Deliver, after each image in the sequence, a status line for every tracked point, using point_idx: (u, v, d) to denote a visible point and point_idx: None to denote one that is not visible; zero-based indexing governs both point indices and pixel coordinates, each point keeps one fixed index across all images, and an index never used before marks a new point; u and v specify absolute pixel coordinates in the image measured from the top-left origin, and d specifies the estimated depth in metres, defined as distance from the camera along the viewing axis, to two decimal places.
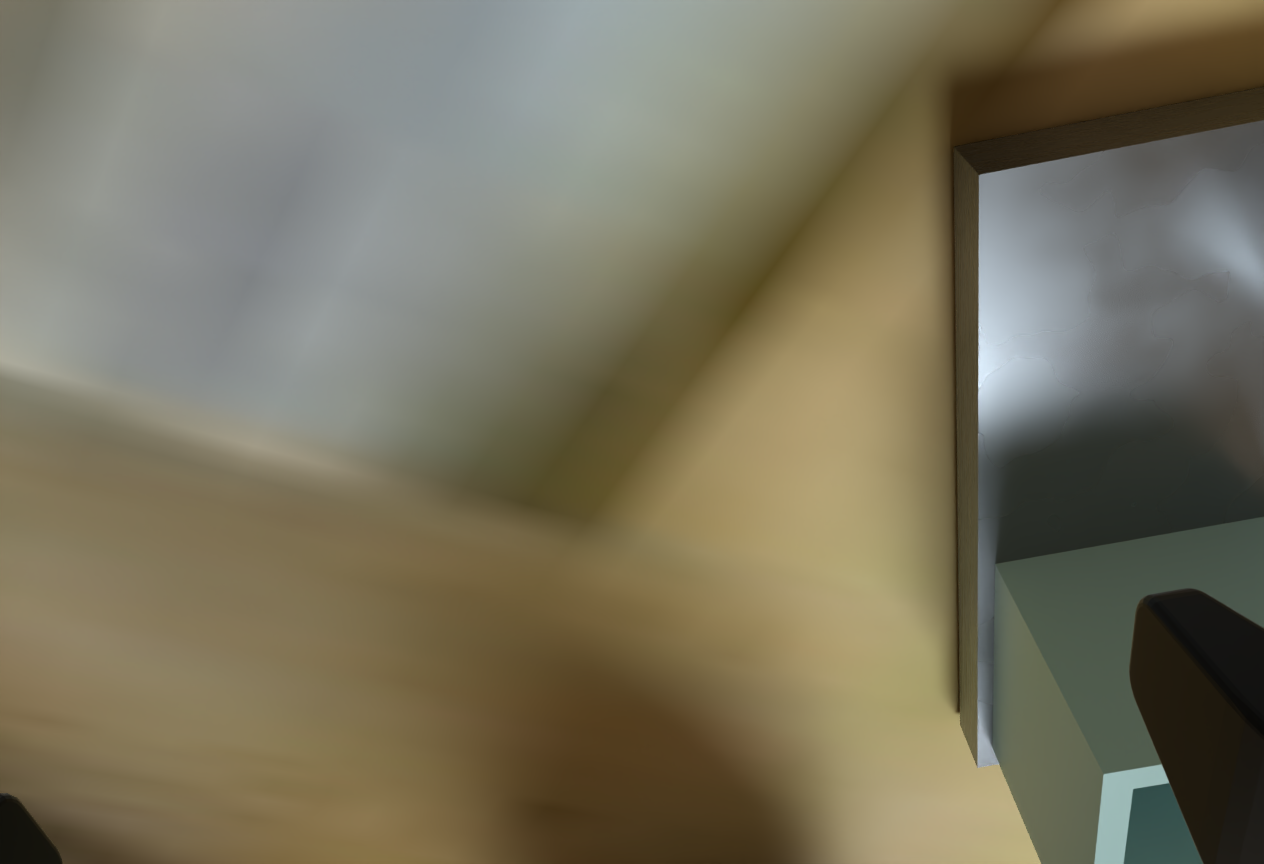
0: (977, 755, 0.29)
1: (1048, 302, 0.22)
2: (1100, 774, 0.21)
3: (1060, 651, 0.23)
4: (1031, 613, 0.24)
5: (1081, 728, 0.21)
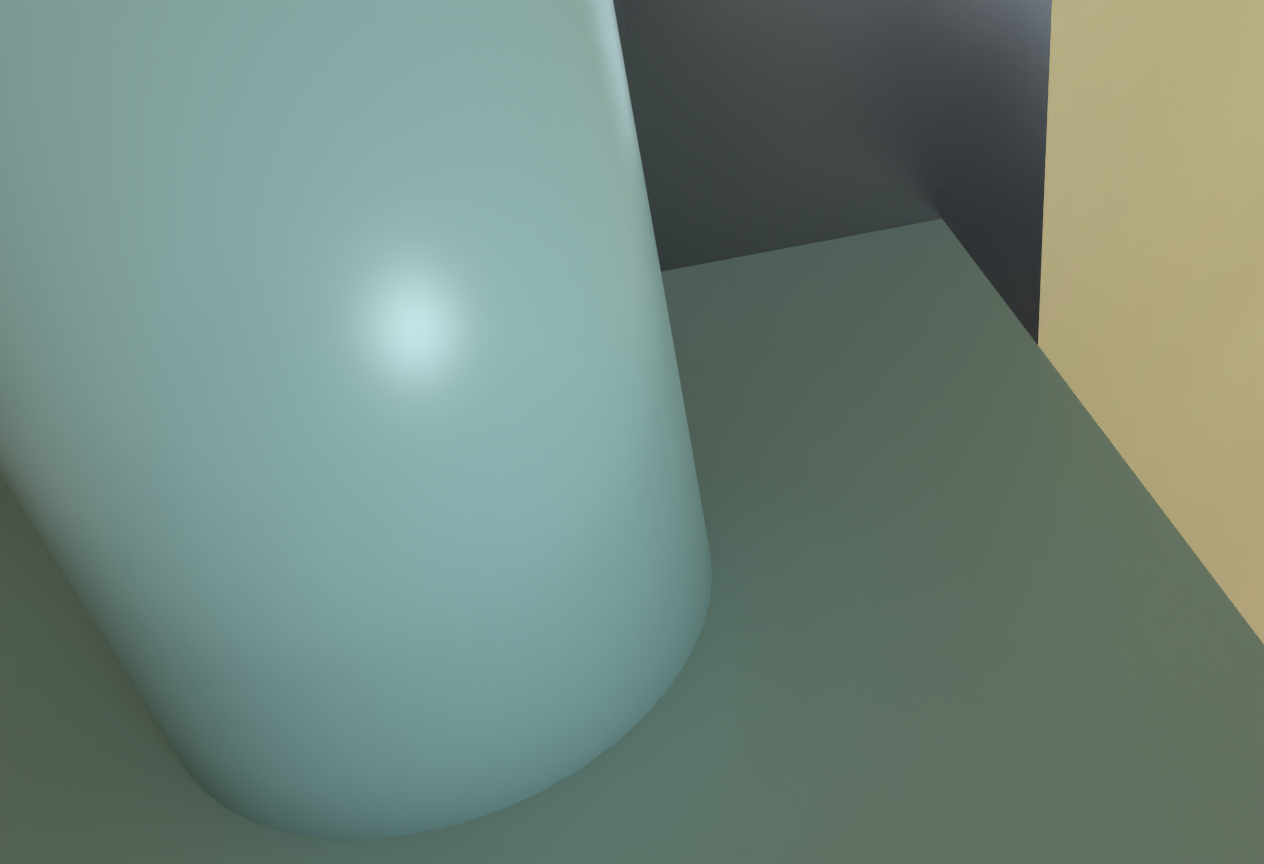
0: None
1: None
2: None
3: None
4: None
5: None
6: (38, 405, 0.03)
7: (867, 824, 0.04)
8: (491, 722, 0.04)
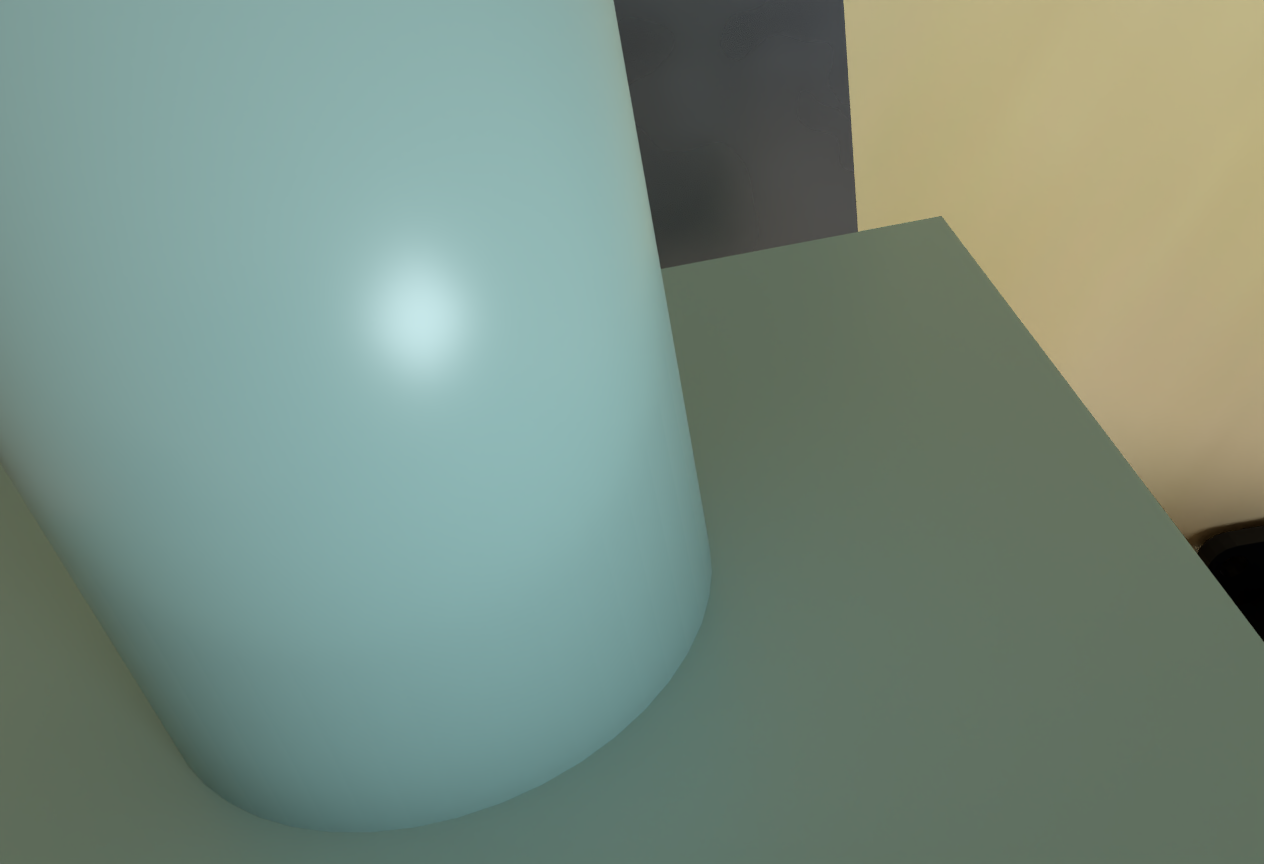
0: None
1: None
2: None
3: None
4: None
5: None
6: (41, 398, 0.03)
7: (866, 817, 0.04)
8: (491, 715, 0.04)
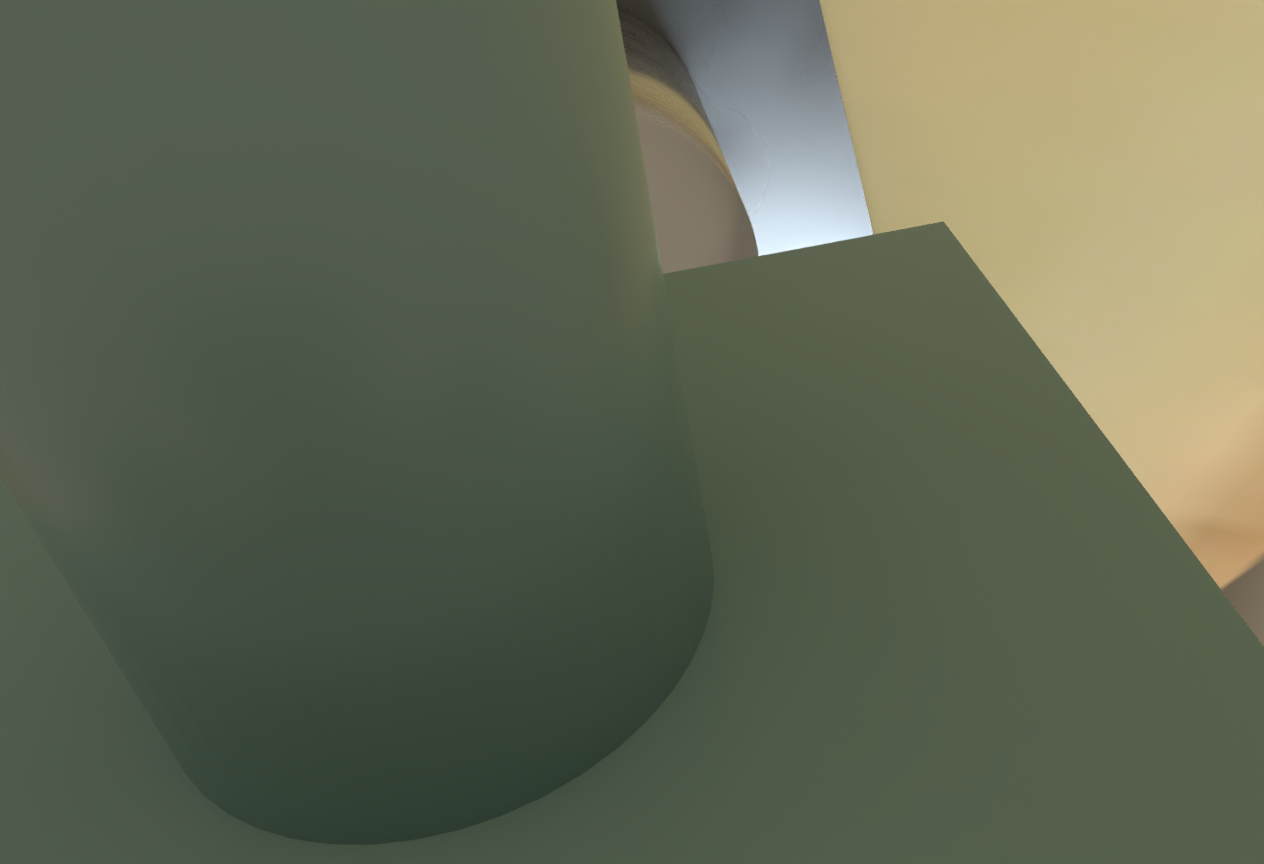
0: None
1: None
2: None
3: None
4: None
5: None
6: (39, 410, 0.03)
7: (870, 831, 0.04)
8: (493, 728, 0.04)
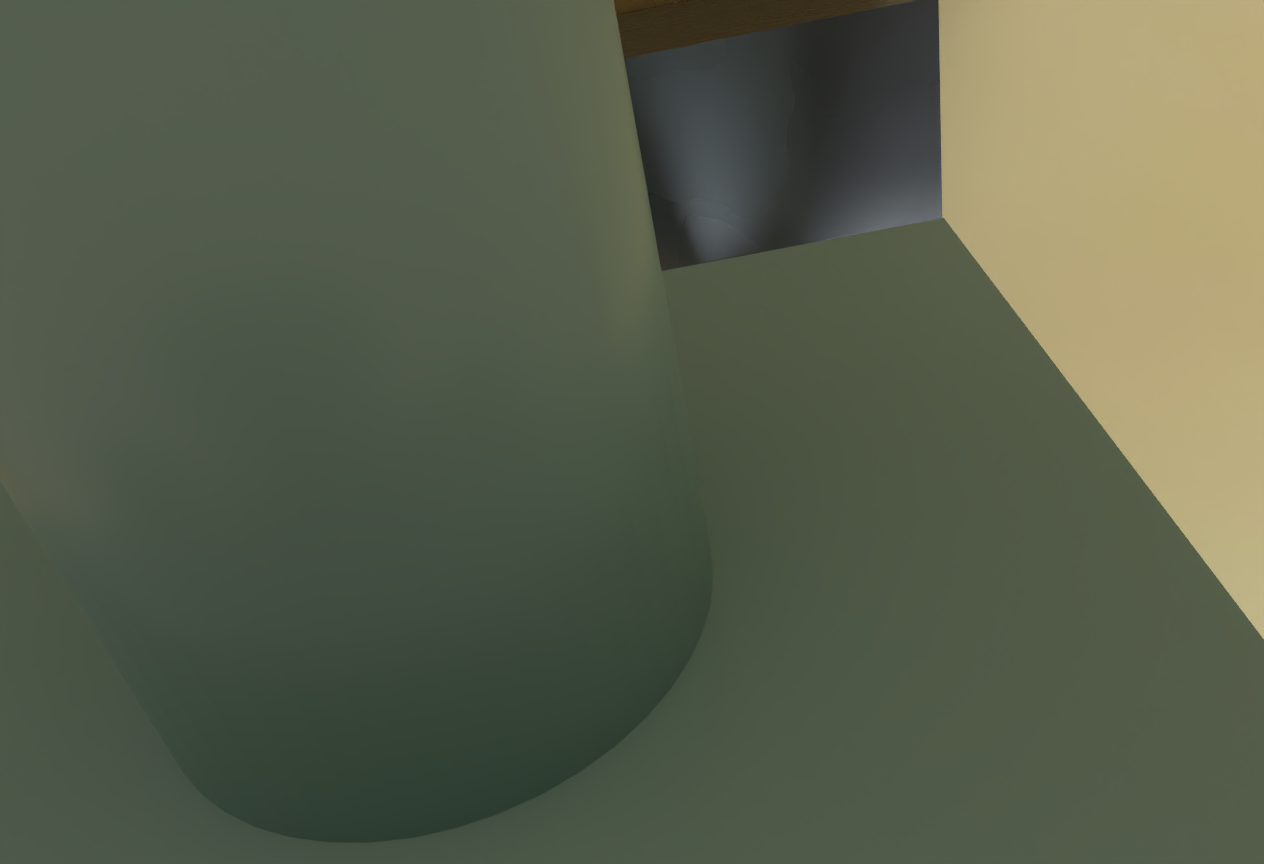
0: None
1: None
2: None
3: None
4: None
5: None
6: (33, 405, 0.03)
7: (870, 827, 0.04)
8: (491, 725, 0.04)
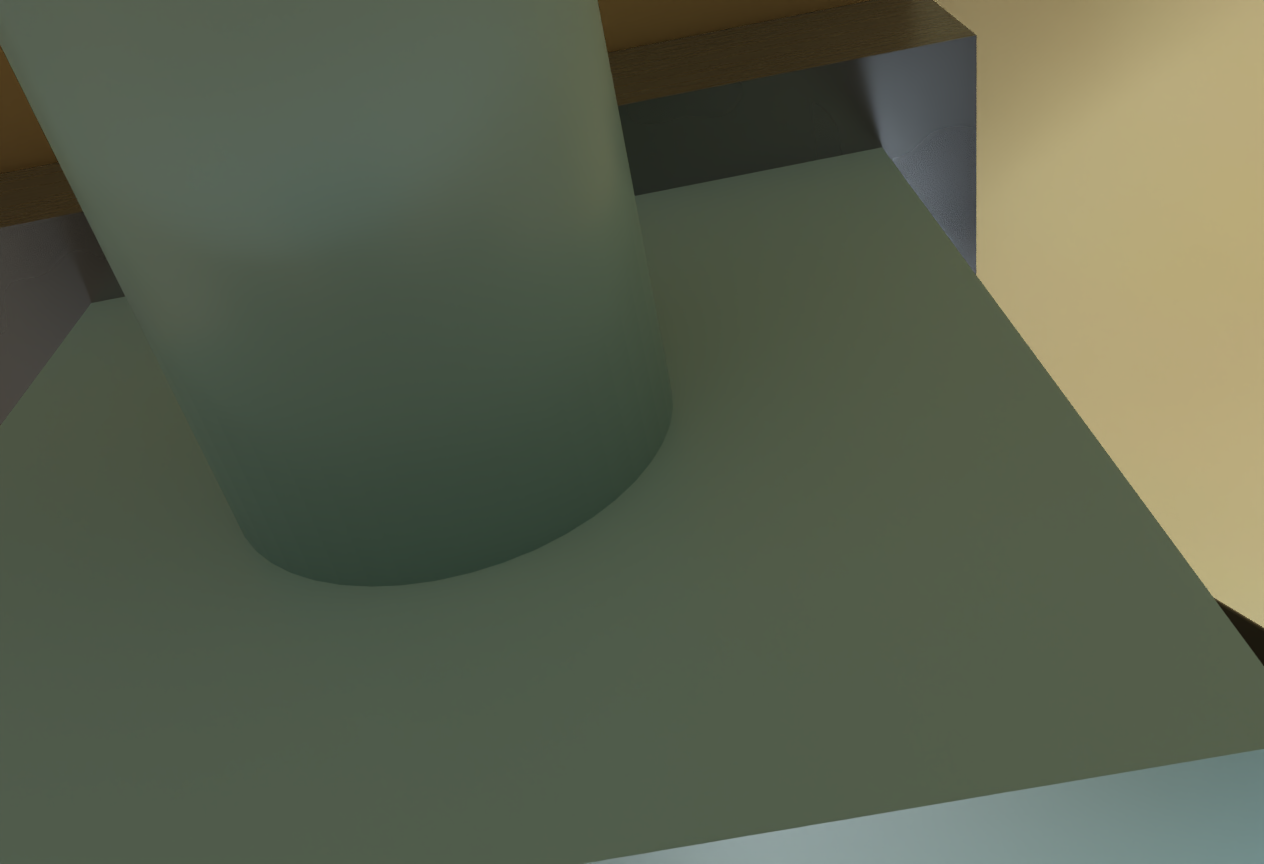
0: None
1: None
2: None
3: None
4: None
5: None
6: (170, 216, 0.04)
7: (780, 557, 0.05)
8: (496, 485, 0.05)
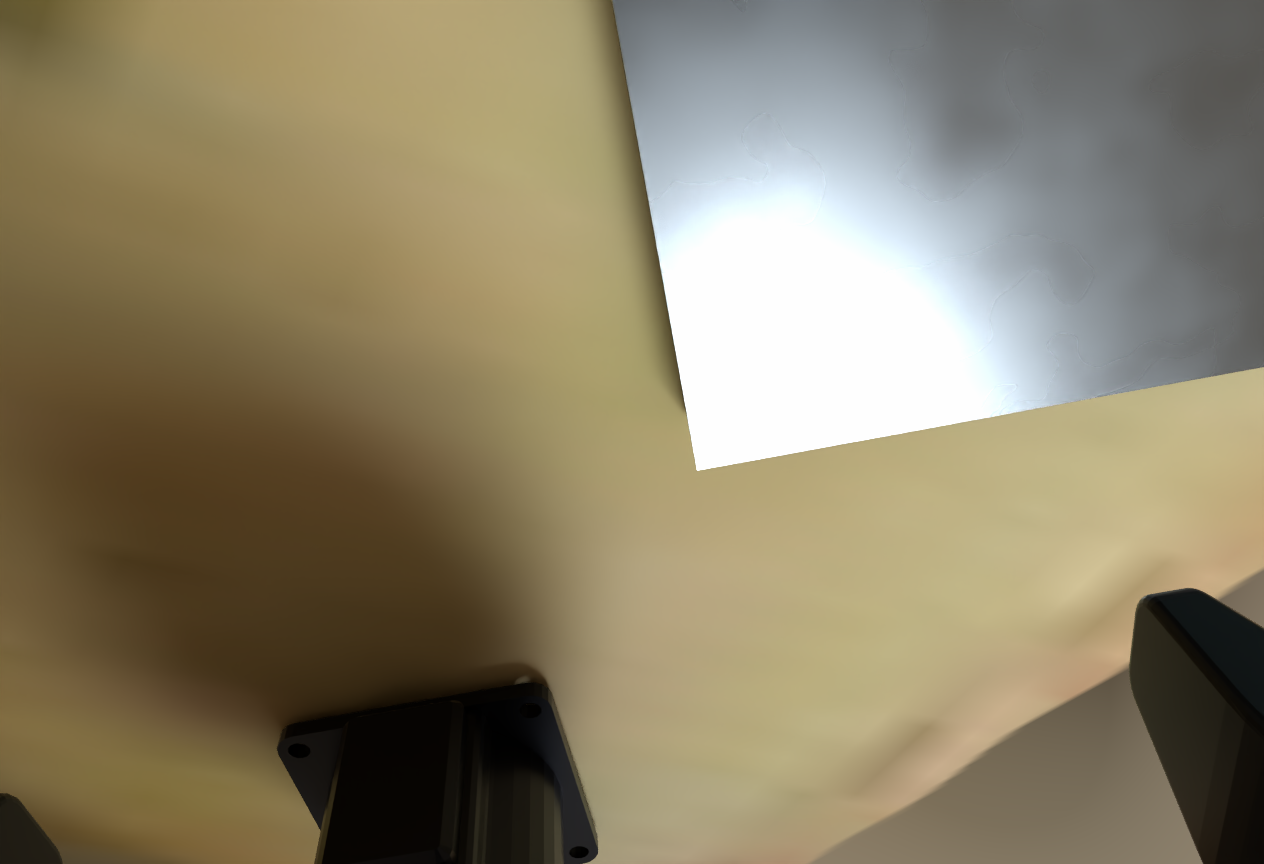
0: (694, 449, 0.20)
1: None
2: None
3: None
4: None
5: None
6: None
7: None
8: None
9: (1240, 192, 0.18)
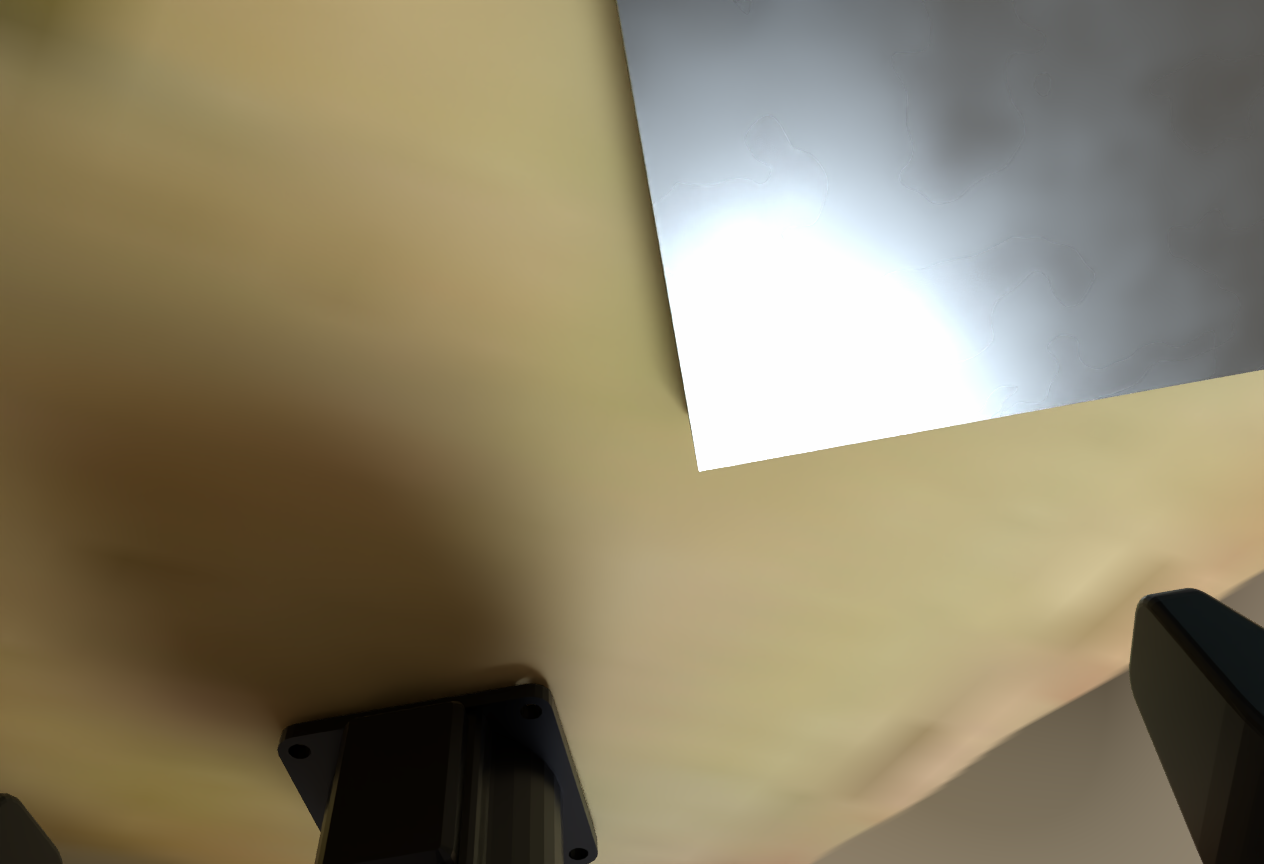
0: (696, 450, 0.20)
1: None
2: None
3: None
4: None
5: None
6: None
7: None
8: None
9: (1240, 195, 0.18)
